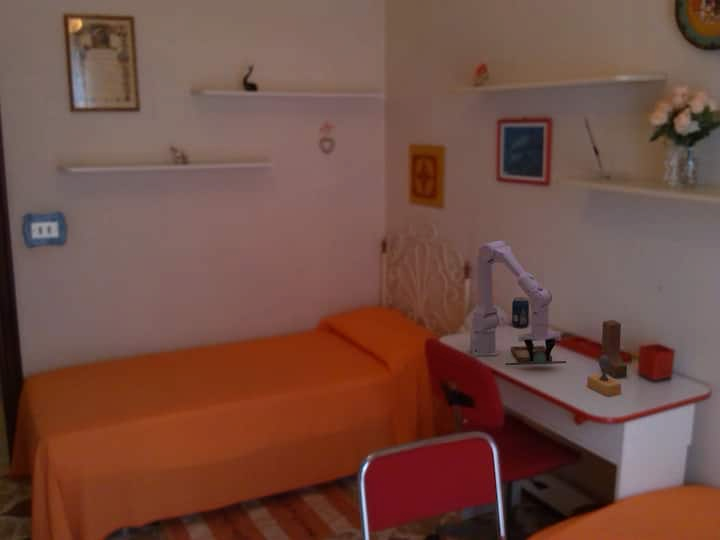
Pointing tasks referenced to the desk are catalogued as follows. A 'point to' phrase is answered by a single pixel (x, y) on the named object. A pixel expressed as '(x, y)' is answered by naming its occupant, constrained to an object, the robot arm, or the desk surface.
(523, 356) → the tray
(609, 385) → the rubber stamp
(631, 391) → the desk surface
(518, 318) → the soda can
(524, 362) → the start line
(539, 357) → the ball
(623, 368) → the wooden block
